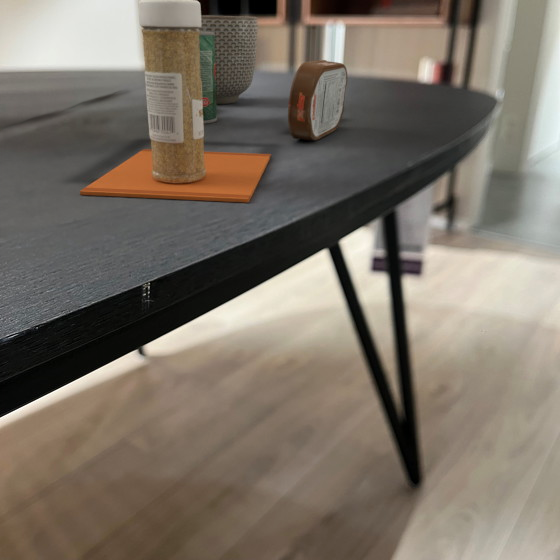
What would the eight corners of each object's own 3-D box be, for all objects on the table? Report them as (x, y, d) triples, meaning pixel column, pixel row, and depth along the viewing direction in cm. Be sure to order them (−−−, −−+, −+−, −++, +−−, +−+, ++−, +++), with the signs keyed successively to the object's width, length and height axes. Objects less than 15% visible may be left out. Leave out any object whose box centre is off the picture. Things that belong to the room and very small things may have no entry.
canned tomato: (226, 117, 80) (224, 31, 75) (202, 126, 73) (198, 32, 68) (174, 114, 82) (170, 30, 77) (146, 122, 75) (140, 30, 70)
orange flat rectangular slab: (80, 194, 44) (79, 190, 43) (143, 151, 58) (143, 148, 58) (248, 202, 43) (248, 198, 42) (270, 157, 57) (270, 153, 57)
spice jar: (217, 178, 48) (213, -1, 42) (172, 188, 45) (161, -3, 39) (184, 168, 51) (176, 0, 45) (139, 177, 48) (125, -3, 42)
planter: (161, 104, 90) (155, 14, 85) (189, 95, 103) (185, 15, 97) (246, 109, 88) (246, 16, 83) (264, 98, 101) (265, 17, 95)
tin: (324, 125, 76) (328, 57, 72) (347, 127, 75) (352, 58, 71) (284, 145, 63) (286, 63, 59) (311, 148, 62) (314, 65, 58)
